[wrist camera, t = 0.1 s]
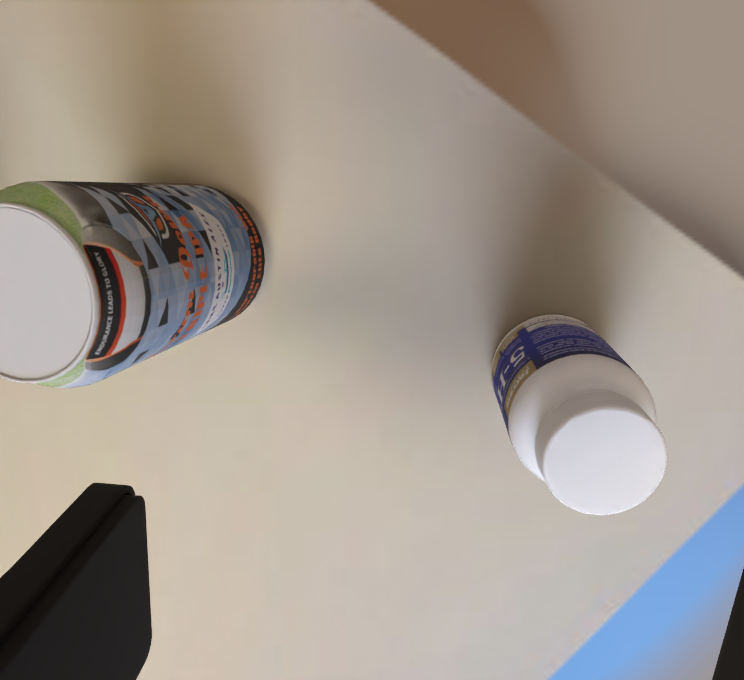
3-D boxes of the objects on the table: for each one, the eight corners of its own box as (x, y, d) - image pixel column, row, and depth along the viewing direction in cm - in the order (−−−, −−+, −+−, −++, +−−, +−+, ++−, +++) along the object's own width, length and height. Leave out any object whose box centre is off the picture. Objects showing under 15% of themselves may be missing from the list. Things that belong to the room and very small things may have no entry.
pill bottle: (488, 315, 28) (522, 388, 20) (608, 309, 28) (696, 380, 19) (490, 424, 30) (523, 535, 21) (604, 419, 29) (683, 530, 21)
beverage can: (259, 331, 29) (159, 450, 17) (104, 293, 29) (-100, 389, 17) (284, 195, 27) (191, 229, 16) (118, 155, 27) (-99, 159, 15)
